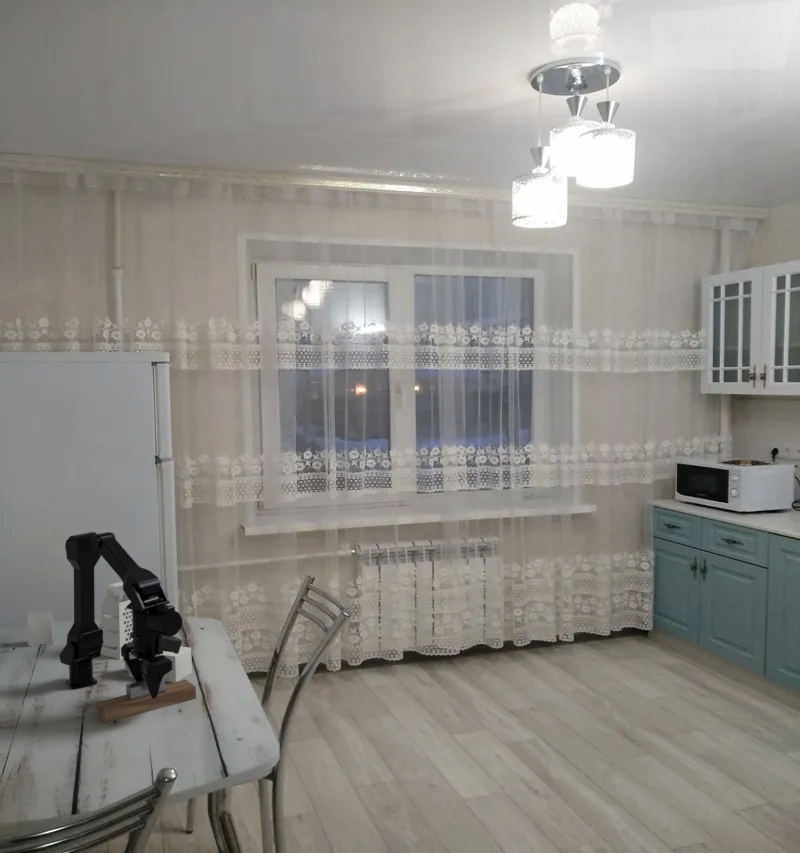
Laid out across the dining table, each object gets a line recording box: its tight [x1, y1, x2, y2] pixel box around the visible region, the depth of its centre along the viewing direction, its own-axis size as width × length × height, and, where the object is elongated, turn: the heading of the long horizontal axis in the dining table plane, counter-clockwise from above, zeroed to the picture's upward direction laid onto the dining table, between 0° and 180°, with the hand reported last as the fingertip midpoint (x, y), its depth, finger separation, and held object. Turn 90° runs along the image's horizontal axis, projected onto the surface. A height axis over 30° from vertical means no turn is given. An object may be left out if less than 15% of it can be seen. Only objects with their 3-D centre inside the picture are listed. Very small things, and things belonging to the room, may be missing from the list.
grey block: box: [125, 678, 166, 701], centre depth 188 cm, size 3×8×6 cm, turn 128°
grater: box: [99, 580, 133, 660], centre depth 228 cm, size 10×10×20 cm
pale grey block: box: [26, 609, 55, 646], centre depth 236 cm, size 4×7×10 cm, turn 109°
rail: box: [96, 679, 197, 724], centre depth 188 cm, size 6×22×3 cm, turn 128°
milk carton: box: [124, 646, 193, 683], centre depth 209 cm, size 7×7×19 cm
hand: (147, 692), depth 188 cm, fingers open, 9 cm apart
